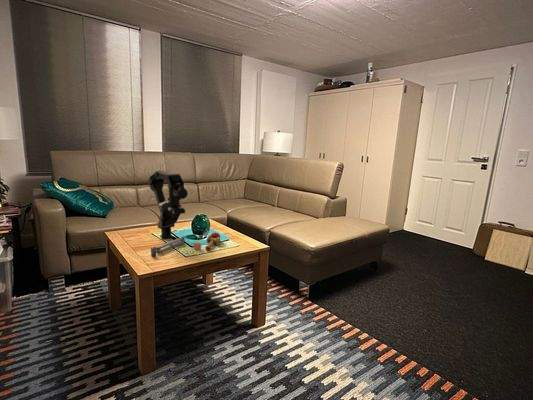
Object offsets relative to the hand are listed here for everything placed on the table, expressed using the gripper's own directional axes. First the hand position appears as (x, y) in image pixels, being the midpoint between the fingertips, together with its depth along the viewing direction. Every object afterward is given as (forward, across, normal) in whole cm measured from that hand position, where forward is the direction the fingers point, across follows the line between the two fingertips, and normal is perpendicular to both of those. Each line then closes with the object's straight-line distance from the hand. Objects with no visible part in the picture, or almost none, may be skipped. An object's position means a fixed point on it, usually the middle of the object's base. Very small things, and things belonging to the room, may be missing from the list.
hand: (175, 222), depth 167 cm
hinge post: (+12, +15, -16) cm, 25 cm away
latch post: (+12, +18, +6) cm, 22 cm away
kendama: (+12, +16, +16) cm, 26 cm away
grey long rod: (+11, +9, -5) cm, 15 cm away
